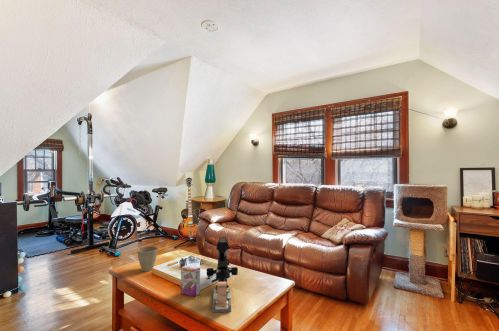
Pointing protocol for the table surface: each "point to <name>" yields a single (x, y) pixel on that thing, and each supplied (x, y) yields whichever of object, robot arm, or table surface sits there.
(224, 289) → the salmon pink rectangular block
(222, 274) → the robot arm
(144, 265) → the plant pot
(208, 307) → the table surface
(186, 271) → the candy bar box
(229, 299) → the track
